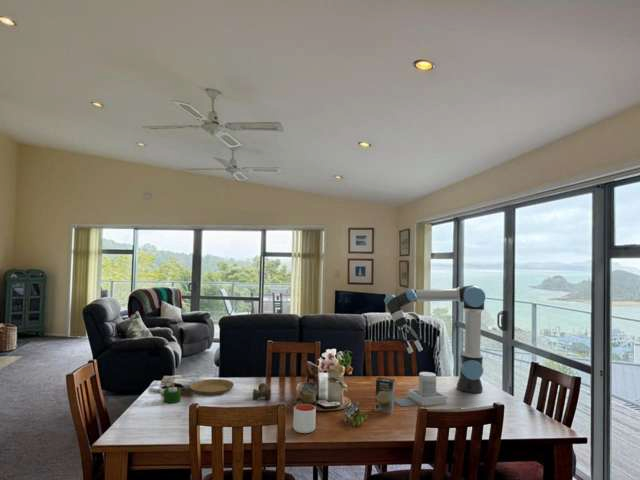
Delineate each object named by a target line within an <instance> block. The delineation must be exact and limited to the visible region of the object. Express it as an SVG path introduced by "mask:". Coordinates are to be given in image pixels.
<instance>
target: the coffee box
mask: <svg viewBox="0 0 640 480" xmlns="http://www.w3.org/2000/svg"><path fill="white" fill-rule="evenodd" d="M395 385H396V381H395V379H394V378H387V377H380V376H378V377H377V378H376V380H375V399H374V400H375V401H374V411H375V412H378V413H379V412H380V413H384V414H390V415H391V414H393V412H394V405H395V402H394V399H395Z"/></svg>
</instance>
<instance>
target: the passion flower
mask: <svg viewBox="0 0 640 480" xmlns="http://www.w3.org/2000/svg"><path fill="white" fill-rule="evenodd" d="M359 404H360V401H357V402H353V403H351V404H350V402H347V403H346V404H345V405H344V407H343V408H342V409H343V410H345V409H346V410H345V411H344V413H343V417H344V422H345V423H346V422H348V420H349V419H351V420H352V426H353V427H354V428H356V425H357V426H358V427H359V426H360V425H362V424H363V422H364V420H367V418H368V414H367V413H364V414H362V413H361V412H360V405H359Z"/></svg>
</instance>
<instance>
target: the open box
mask: <svg viewBox="0 0 640 480" xmlns="http://www.w3.org/2000/svg"><path fill="white" fill-rule="evenodd" d="M408 397H409V398H411V399H413V400H414V401H416V402H418V403H419V404H422V406H423V405H426V406H433V405H434V406H435V405H445V404H447V398H448V397H447V395H445V394H444V393H442V392H439V391H438V390H436V397H426V398H423V397H422V396H420V395H419V388H415V389H408Z"/></svg>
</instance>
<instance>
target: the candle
mask: <svg viewBox="0 0 640 480" xmlns="http://www.w3.org/2000/svg"><path fill="white" fill-rule="evenodd" d="M181 391H182V390H181V389H180V388H178V387H176V386H175V382H174V381H172V383H171V387H169V388H167V389H165V390H164V391H163V392H164V394H163V403H164V404H168V405H174V404H178V403H180V402H181V399H182V398H181V395H182V392H181Z"/></svg>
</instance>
